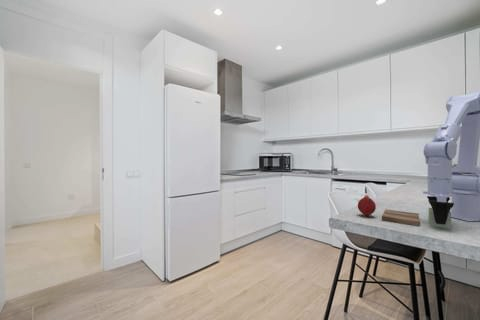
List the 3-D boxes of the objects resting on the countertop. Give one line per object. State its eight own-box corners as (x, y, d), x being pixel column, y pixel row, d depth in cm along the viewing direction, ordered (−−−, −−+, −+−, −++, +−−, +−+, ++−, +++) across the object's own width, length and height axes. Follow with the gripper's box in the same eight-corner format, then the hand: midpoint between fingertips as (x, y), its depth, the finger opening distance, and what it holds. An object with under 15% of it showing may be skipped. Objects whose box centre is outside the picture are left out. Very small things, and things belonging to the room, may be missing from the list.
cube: (428, 222, 72) (428, 207, 72) (449, 225, 69) (449, 209, 69) (429, 226, 69) (429, 210, 68) (451, 229, 65) (451, 213, 65)
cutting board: (385, 213, 84) (385, 209, 84) (418, 217, 78) (418, 213, 78) (381, 220, 74) (381, 216, 74) (419, 226, 68) (419, 221, 68)
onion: (378, 218, 77) (378, 196, 76) (360, 218, 78) (360, 196, 78) (372, 214, 82) (372, 193, 82) (355, 213, 83) (355, 193, 83)
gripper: (422, 176, 77) (422, 214, 77) (423, 179, 66) (423, 224, 66) (449, 177, 72) (449, 217, 73) (456, 181, 61) (456, 228, 61)
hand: (439, 220), depth 69 cm, fingers open, 7 cm apart
